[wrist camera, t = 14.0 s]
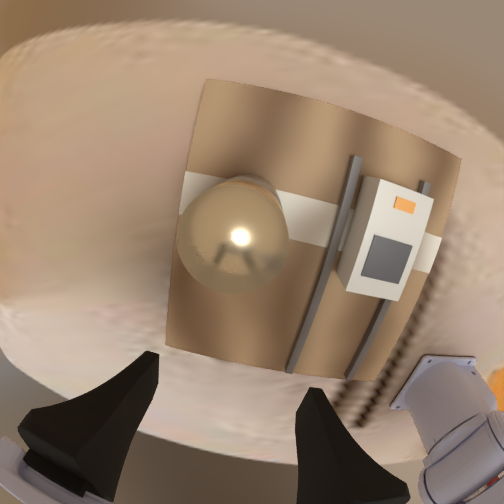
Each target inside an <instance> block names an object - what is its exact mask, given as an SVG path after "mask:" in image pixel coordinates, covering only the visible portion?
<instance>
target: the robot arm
mask: <svg viewBox="0 0 504 504" xmlns="http://www.w3.org/2000/svg"><path fill="white" fill-rule="evenodd" d="M476 362H477V359H476V358H475V357H448V356H430V355H426V356H424V357H423V358H422V359H421V361H420V362H419V364H418V366H417V367H416V369H415V370H414V372H413V373H412V375H411V377H410V378H409V380H408V381H407V383H406V384H405V386H404V387H403V389H402V390H401V391H400V393H399V394H398V396H397V397H396V399H395V400H394V401H393V403H392V404H391V406H390V408H391V410H405V409H409V411H410V413H411V416H412V418H413V420H414V423H415V425H416V427H417V430H418V432H419V435H420V437H421V440H422V442H423V445H424V447H425V450H426V452H427V455H428V456H427V457H426V458H425V459H423V463H424V466H425V468H424V469H423V470H422V471H421V473H420V475H419V482H418V489H419V494H420V497H421V499H422V501H423V502H424V504H504V475H503V476H502V477H501V478H499V479H498V480H497V481H495V482H494V483H493V484H491V485H490V486H489V487H487V488H486V489H485V490H483V491H482V492H480V493H479V494H477V495H476V496H474V497H473V498H471V499H469V500H464V499H465V498H467V497H469V496H470V495H472V494H473V493H474V492H476V491H477V490H479V489H480V488H482V487H483V486H484V485H486V484H487V483H488V482H490V481H491V480H492V479H494V478H495V477H496V476H498V475H499V474H500V473H501V472H502V471H504V412H503V411H497V401H496V397H495V395H494V393H493V392H492V391H491V389H490V388H489V386H488V385H487V384H486V382H485V381H484V379H483V378H482V377H481V375H480V374H479V373H478V371H477V370H476V369H475V367H474V365H475V364H476ZM158 376H159V354H157V353H154V352H150V351H145V352H144V353H143V354H142V355H141V356H140V357H138V358H137V359H136V360H135V361H134V362H132V363H131V364H130V365H129V366H128V367H126V368H125V369H124V370H122V371H121V372H120V373H118V374H117V375H116V376H114V377H113V378H111V379H110V380H108V381H107V382H105V383H103V384H102V385H100V386H98V387H97V388H95V389H93V390H91V391H89V392H87V393H85V394H83V395H80V396H78V397H76V398H73V399H71V400H68V401H65V402H62V403H59V404H55V405H52V406H47V407H42V408H36V409H32V410H31V411H30V412H29V413H28V414H27V415H26V416H25V418H24V419H23V420H22V422H21V423H20V425H19V426H18V432H19V434H20V436H21V437H22V438H23V440H24V441H25V443H26V444H27V446H28V447H29V448H30V449H29V450H28V452H25V450H24V449H22V448H21V447H20V446H19V445H17V444H16V443H15V442H13V441H12V440H11V439H9V438H8V437H7V436H3V437H2V439H1V440H0V485H1V486H2V487H3V488H4V489H5V490H7V491H8V492H9V493H10V494H12V495H13V496H14V497H16V498H17V499H18V500H20V501H21V502H22V503H24V504H114V503H112V502H113V501H114V497H115V492H116V489H117V485H118V481H119V478H120V474H121V471H122V468H123V465H124V461H125V458H126V455H127V452H128V450H129V447H130V444H131V441H132V439H133V437H134V434H135V432H136V430H137V428H138V426H139V424H140V422H141V421H142V419H143V417H144V415H145V413H146V411H147V409H148V407H149V405H150V403H151V401H152V399H153V396H154V394H155V391H156V388H157V385H158ZM295 435H296V446H297V458H298V491H297V503H296V504H406V503H407V502H408V501H409V500H410V494H409V490H408V486H407V484H406V483H405V482H404V481H402V480H400V479H399V478H397V477H395V476H394V475H392V474H391V473H389V472H388V471H387V470H385V469H383V467H381V466H380V465H379V464H378V463H376V462H375V461H374V460H373V459H372V458H371V457H370V456H369V455H368V454H367V453H366V452H365V451H364V450H363V449H362V448H361V447H360V446H359V445H358V443H357V442H356V441H355V440H354V439H353V437H352V436H351V435H350V433H349V432H348V431H347V429H346V428H345V427H344V425H343V424H342V422H341V420H340V419H339V417H338V416H337V414H336V412H335V411H334V409H333V407H332V406H331V404H330V402H329V401H328V399H327V397H326V395H325V394H324V392H323V390H322V389H321V388H313V387H310V388H309V389H308V391H307V393H306V395H305V397H304V399H303V401H302V403H301V404H300V406H299V408H298V410H297V412H296V422H295Z"/></svg>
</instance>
